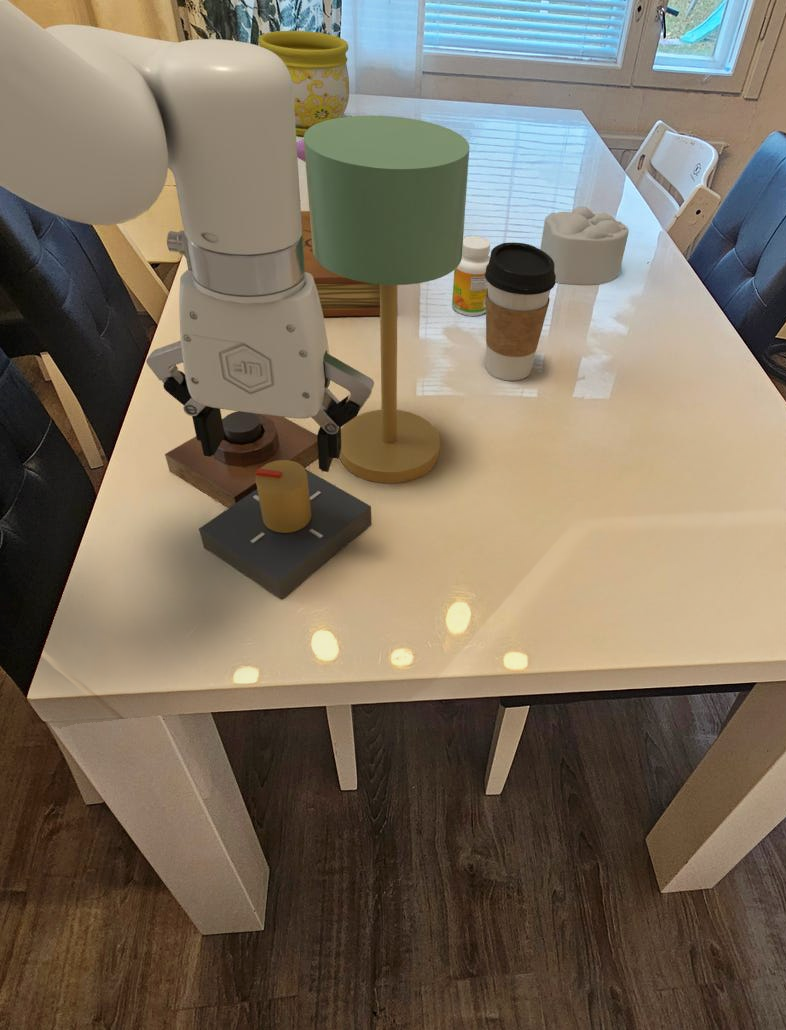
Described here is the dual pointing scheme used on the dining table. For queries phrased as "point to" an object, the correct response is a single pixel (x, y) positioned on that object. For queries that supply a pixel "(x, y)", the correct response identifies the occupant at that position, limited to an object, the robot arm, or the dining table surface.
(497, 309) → the coffee cup
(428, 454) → the lamp
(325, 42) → the flowerpot
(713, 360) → the dining table surface
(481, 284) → the supplement bottle
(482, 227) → the dining table surface
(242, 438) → the power button
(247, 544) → the dimmer panel
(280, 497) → the dimmer knob
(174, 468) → the switch block
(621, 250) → the lumpy-topped squat cylinder
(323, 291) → the diary
